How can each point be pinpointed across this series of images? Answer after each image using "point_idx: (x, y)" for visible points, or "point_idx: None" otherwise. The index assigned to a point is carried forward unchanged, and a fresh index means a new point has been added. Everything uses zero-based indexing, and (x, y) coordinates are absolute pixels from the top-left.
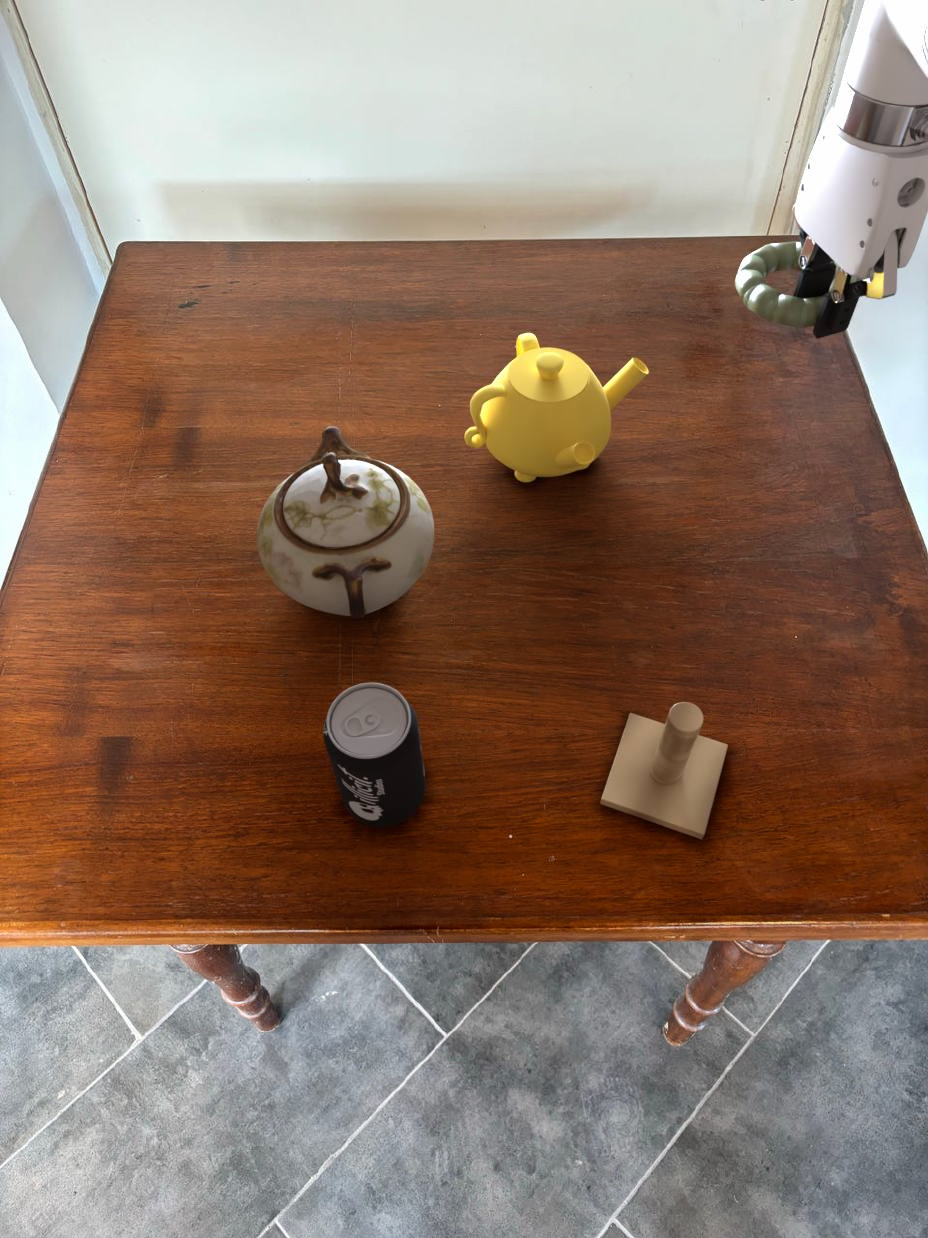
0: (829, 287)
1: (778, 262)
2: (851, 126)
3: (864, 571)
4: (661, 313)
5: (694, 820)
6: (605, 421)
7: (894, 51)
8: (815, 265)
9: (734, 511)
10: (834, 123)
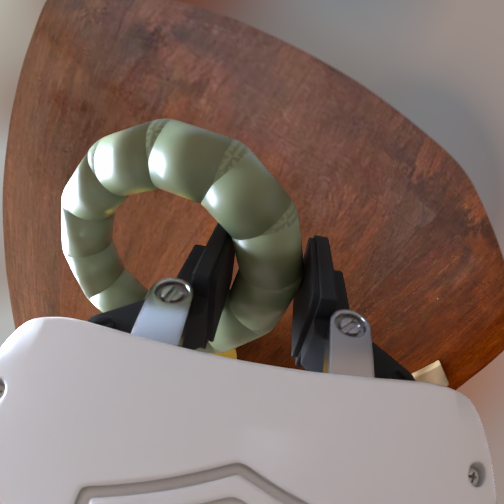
0: (229, 247)
1: (104, 250)
2: None
3: (446, 220)
4: (72, 162)
5: (443, 385)
6: (215, 353)
7: None
8: (201, 345)
9: (333, 264)
10: None
